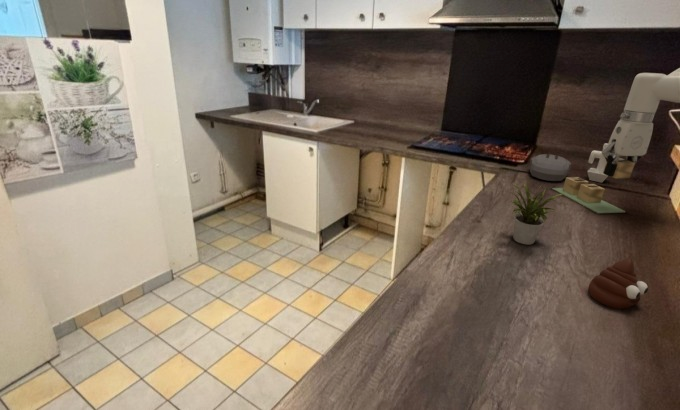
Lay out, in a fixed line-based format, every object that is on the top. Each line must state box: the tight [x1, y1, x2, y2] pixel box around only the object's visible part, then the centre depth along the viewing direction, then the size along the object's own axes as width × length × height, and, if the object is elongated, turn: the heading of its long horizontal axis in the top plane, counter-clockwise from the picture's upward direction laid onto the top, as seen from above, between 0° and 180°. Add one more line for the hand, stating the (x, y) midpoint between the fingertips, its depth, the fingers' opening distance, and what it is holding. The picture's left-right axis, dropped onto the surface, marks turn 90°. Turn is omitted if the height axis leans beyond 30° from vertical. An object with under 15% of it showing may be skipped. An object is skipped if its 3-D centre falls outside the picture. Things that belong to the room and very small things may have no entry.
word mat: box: [551, 187, 626, 215], centre depth 125 cm, size 10×22×1 cm, turn 8°
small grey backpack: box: [529, 153, 572, 182], centre depth 148 cm, size 15×8×20 cm
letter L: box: [562, 176, 589, 195], centre depth 130 cm, size 5×5×5 cm
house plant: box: [507, 180, 564, 246], centre depth 95 cm, size 14×14×16 cm
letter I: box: [577, 183, 606, 203], centre depth 123 cm, size 5×5×5 cm
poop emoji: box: [588, 257, 649, 310], centre depth 73 cm, size 10×8×9 cm
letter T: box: [603, 157, 636, 179], centre depth 113 cm, size 5×5×5 cm
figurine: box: [587, 143, 615, 184], centre depth 142 cm, size 7×9×15 cm
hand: (616, 174), depth 114 cm, fingers closed on letter T, 5 cm apart
